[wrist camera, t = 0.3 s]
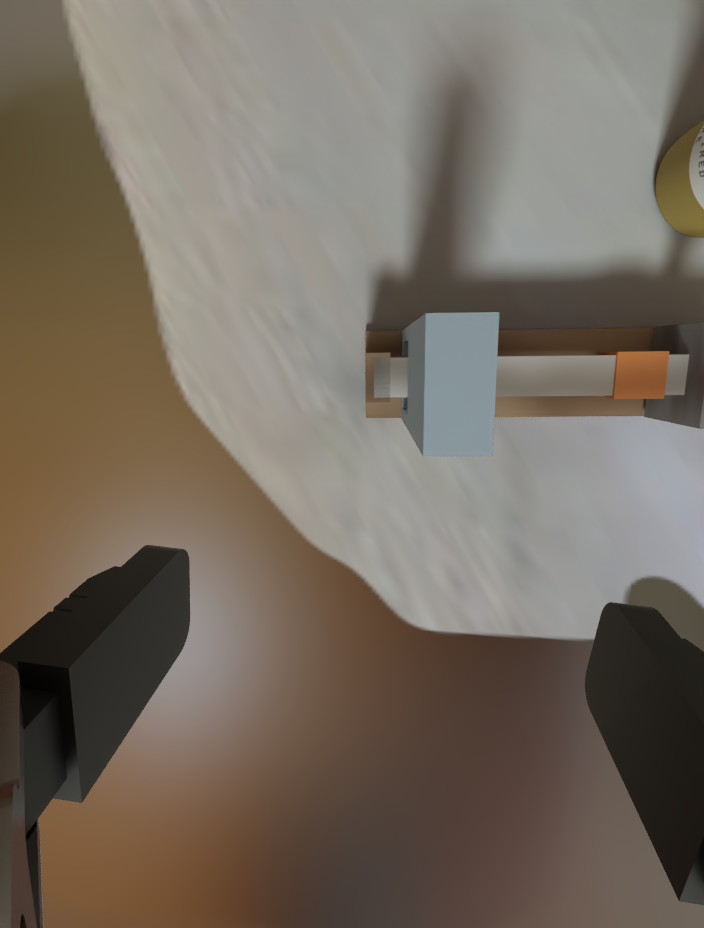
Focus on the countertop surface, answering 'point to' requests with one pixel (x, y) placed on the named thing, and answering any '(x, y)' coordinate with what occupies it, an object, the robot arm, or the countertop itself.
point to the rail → (531, 349)
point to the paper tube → (683, 183)
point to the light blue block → (451, 382)
